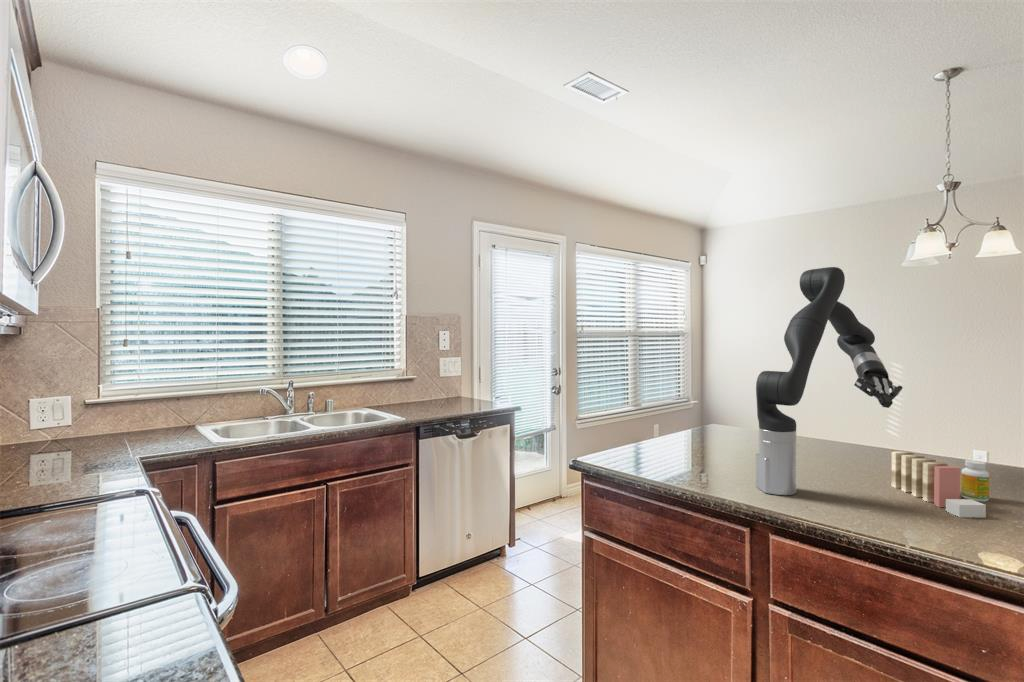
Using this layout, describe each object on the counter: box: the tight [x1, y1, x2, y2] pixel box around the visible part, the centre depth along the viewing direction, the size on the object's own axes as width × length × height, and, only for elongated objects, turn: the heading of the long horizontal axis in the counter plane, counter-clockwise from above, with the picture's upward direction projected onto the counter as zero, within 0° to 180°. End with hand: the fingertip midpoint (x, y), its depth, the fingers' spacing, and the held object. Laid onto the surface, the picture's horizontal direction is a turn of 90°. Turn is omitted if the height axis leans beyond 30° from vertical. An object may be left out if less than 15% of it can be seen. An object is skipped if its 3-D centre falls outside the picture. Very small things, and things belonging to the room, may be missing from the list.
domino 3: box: [911, 458, 937, 498], centre depth 134 cm, size 5×2×10 cm, turn 88°
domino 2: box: [900, 454, 926, 493], centre depth 138 cm, size 5×2×10 cm, turn 87°
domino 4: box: [922, 461, 949, 503], centre depth 130 cm, size 5×2×10 cm, turn 87°
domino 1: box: [890, 451, 915, 489], centre depth 141 cm, size 5×2×10 cm, turn 87°
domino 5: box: [933, 465, 961, 508], centre depth 126 cm, size 5×2×10 cm, turn 88°
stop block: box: [945, 498, 987, 519], centre depth 121 cm, size 6×4×3 cm, turn 88°
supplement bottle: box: [960, 459, 990, 503], centre depth 132 cm, size 5×5×10 cm
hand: (887, 405), depth 145 cm, fingers closed
